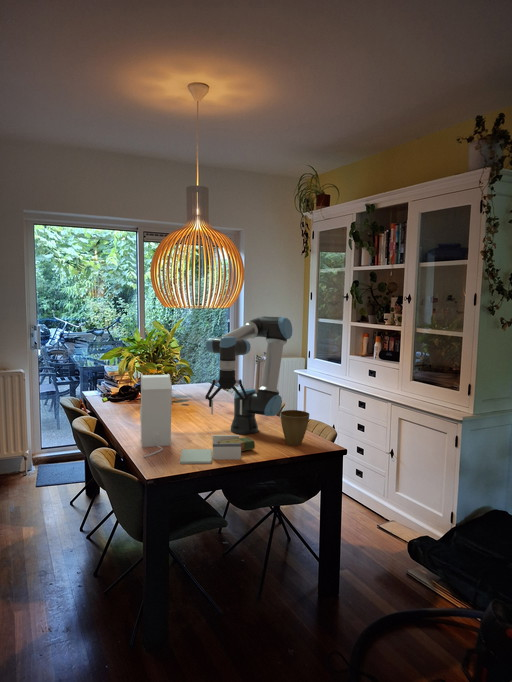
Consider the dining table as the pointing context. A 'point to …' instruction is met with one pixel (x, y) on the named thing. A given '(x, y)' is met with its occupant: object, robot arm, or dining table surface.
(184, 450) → the plate
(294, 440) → the plant pot
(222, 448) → the rack
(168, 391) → the tall slanted-top box
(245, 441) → the carton
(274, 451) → the dining table surface
